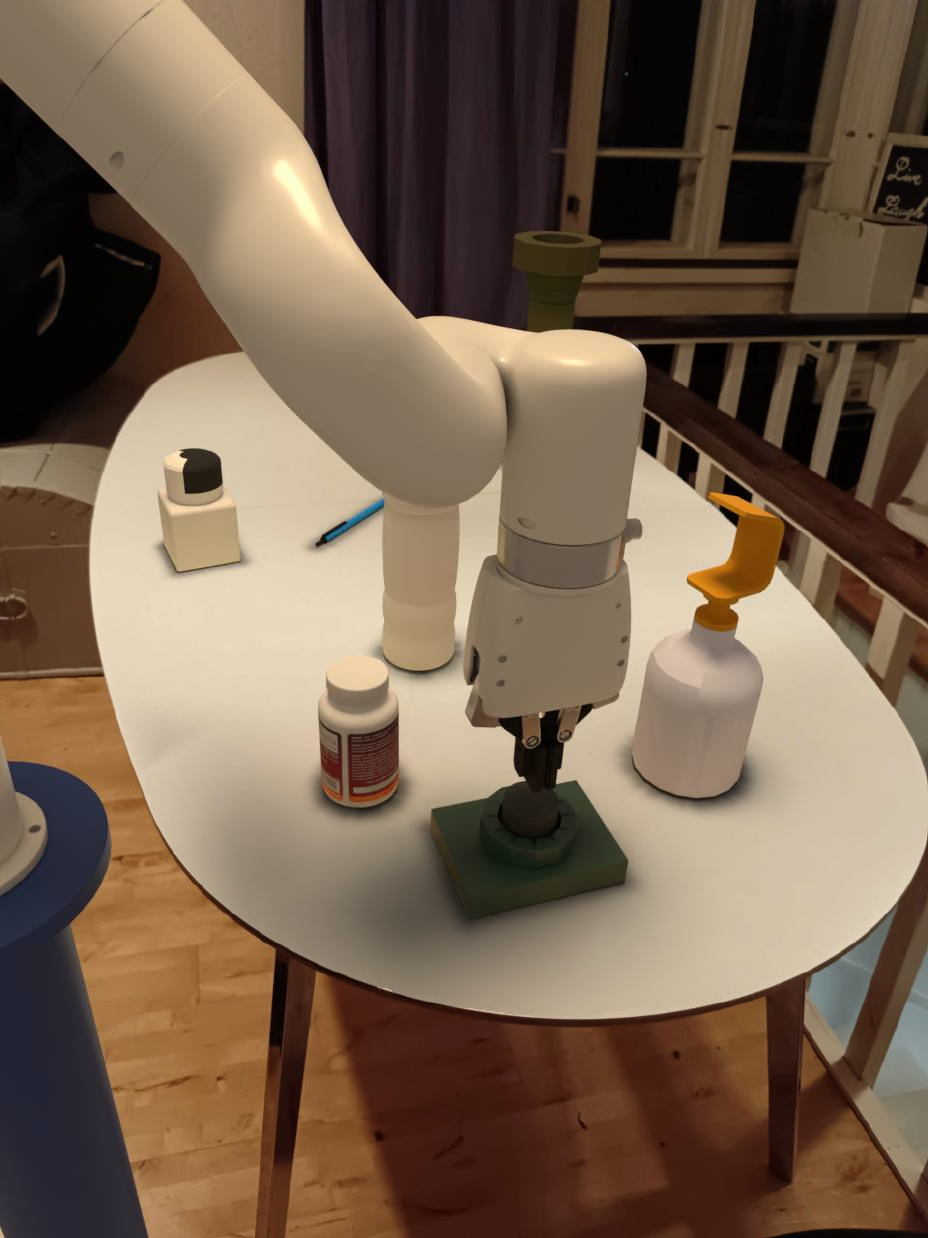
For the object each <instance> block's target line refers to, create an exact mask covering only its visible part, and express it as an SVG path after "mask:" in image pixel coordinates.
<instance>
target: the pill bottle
mask: <svg viewBox="0 0 928 1238" xmlns="http://www.w3.org/2000/svg"><path fill="white" fill-rule="evenodd" d="M399 705H400V704H399V699H398V696H397V694H396V692H395V691H394V690H393V689H392V688H391V686H390V673H389V668H388V666H387V665H386V664H385V663H384V662H383V661H381V660H380V659H378V658H376V657H373V656H369V655H359V654H358V655H357V654H356V655H355V654H354V655H348V656H347V655H346V656H343V657H341V658H339V659H336V660H335V661H333V662H332V663H331V664H330V665H329V666H328V668H327V669H326V672H325V690H324V691H323V692H322V693H321V695H320V697H319V699H318V703H317V713H318V714H317V718H318V719H317V720H318V734H319V735H318V736H319V737H318V738H319V756H320V757H319V758H320V774H321V776H320V778H321V784H322V788H323V790H324V793H325V794H326V796H327V797H328V798H329V799H330V800H332V801H333V802H335V803H337V804H339V805H342V806H345V807H348V808H349V807H350V808H368V807H373V806H377V805H379V804H382V803H384V802H385V801H387V800H388V799H389V798H390V797H392V795H394V793H395V791H396V790H397V788H398V785H399V781H400V715H399V714H400V709H399V707H400V706H399Z"/></svg>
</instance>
